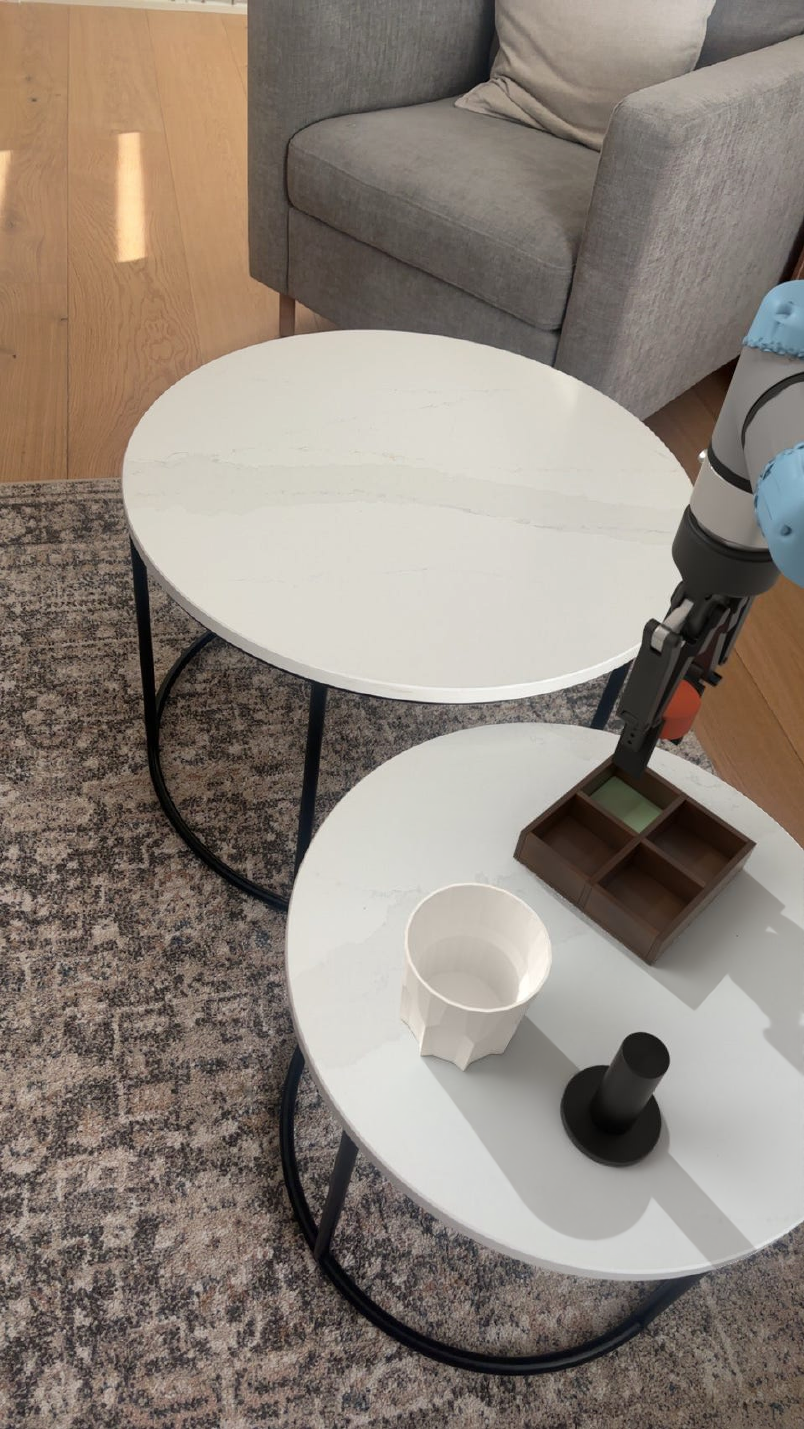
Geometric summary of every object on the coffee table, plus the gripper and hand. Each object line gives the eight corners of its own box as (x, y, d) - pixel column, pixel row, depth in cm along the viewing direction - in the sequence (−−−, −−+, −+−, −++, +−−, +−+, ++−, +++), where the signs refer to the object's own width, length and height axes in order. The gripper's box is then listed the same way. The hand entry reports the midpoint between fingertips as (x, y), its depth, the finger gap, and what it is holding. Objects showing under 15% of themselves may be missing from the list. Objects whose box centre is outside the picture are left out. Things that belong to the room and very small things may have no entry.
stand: (673, 1158, 75) (716, 1098, 68) (577, 1174, 73) (612, 1114, 67) (638, 1063, 80) (676, 998, 73) (548, 1076, 78) (577, 1011, 71)
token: (701, 737, 86) (710, 716, 84) (642, 742, 84) (650, 720, 83) (678, 692, 89) (687, 671, 87) (620, 696, 88) (628, 674, 86)
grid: (743, 868, 93) (757, 843, 91) (650, 966, 85) (663, 942, 83) (610, 772, 99) (620, 746, 97) (512, 856, 91) (520, 830, 89)
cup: (548, 1049, 80) (579, 978, 72) (428, 1102, 76) (448, 1034, 69) (481, 940, 85) (504, 865, 78) (366, 984, 82) (379, 910, 74)
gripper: (761, 450, 79) (669, 677, 96) (618, 544, 69) (544, 779, 86) (853, 498, 76) (741, 724, 93) (717, 604, 66) (620, 836, 83)
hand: (646, 750), depth 90 cm, fingers closed on token, 5 cm apart
